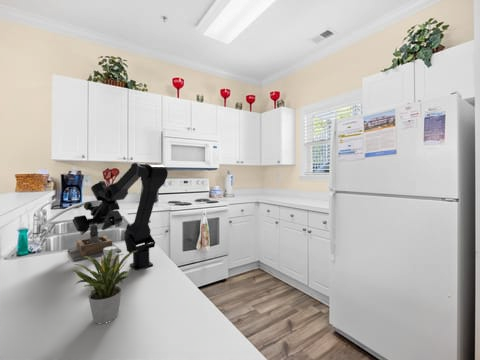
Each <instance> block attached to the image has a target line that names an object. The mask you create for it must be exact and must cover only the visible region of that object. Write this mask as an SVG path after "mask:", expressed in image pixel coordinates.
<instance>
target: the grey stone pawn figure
mask: <svg viewBox="0 0 480 360" xmlns="http://www.w3.org/2000/svg"><path fill="white" fill-rule="evenodd" d="M98 228H99V227H98V224H92V225H90V227H89V236H90V237H89V238H90V241H88V242H87V244H92V243H97V242H102V240H99V238H98V237H99V229H98Z"/></svg>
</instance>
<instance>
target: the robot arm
mask: <svg viewBox="0 0 480 360" xmlns="http://www.w3.org/2000/svg"><path fill="white" fill-rule="evenodd" d="M168 172H169V171H168V170H167V168H166V166H165V165H162V164H148V163H145V162H133V163H132V164H131V165H130V168H129V169H128V170H127V171H126V172H125V173H124V174H123V175H122V176H121V177H120V178H119V179H118V180H117V181H116V182H115V183H112V184H109V185H108V184H107V183H106V181H105V180H99V182H97V183H95V184H93V185H92V186H91V188H90V189H91V192H92V194H93V196H94V198H95V199H96V200H89V201H85V203H84V205H83V208H84V209H85V211H90V216H92V218H89V219H88V218H87V215H85V214H84V215H76V216H74V218H73V219H72V223H73V225H74V227H75V230H76V231H77V232H79V233H80V235H81V236H82V235H84V234H86V233H87V232H89V230H90V226H91V225H93V224H95V225H102V224H103V225H102V227H101V230H102V231H105V230H107V229H110V228H111V227H113V226H116V225H118V224H121V223H122V222H123V216H122V215H121V213H120V211H119V210H120V206H119V203H118V201H123V200H125V199H126V197H127V196H128V194H129V189H130V188H131V187H132V186H133V185H134V184H135V183H136V182H137V181H138V180H140V181H141V185H142V186H143V187H142V190H141V191H142V192H141V196H140V199H139V202H138V207H137V211H136V214H135V218H134V221H133V222H132V223H128V224H127V225H126V230H125V232H124V243H125V246H126V252H127V253H128V254H129V253H131V252H133V251H136V252H134V253H132V263H129V266H130V267H131V268H133V269H134V270H135V271H137V270H140V269H145V268H148V267H152V266H153V265H154V263H153V262H151V260H150V249H151V248H155V246H156V241H155V239H154V237H153V236H152V234H151V229H150V224H149V223H150V220H151V219H150V218H151V216H152V212H153V209H154V204H155V201H156V198H157V195H158V191H159V190H160V188H162V186H163V185H164V184H165V183H166V180H167V178H168V174H169V173H168ZM107 185H108V186H107ZM137 250H138V251H137Z"/></svg>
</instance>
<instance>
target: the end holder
mask: <svg viewBox="0 0 480 360" xmlns="http://www.w3.org/2000/svg"><path fill="white" fill-rule="evenodd" d="M98 238H99V240H102V242H97V243H92V244H87V242H88V241H90V237H89V238H83V239H82V238H81V239H77V240H76V247H70V248H68V250H67V251H68V252H69V254H70V256H71V258H72V259H73V261H74V262H75V263H76V262H81V261H85V260H90V259H89V258H87V257H84V256H88V255H89V256H88V257H91V258H94V259H96V258H98V257H102V255H103V254H104V253H103V249H104V248H106V247H111V246H115V247H117V253H118V254H119V253H121V252H122V249H120V248H119V247H118V246H117V245H116V244H114V243H113V240H112V239H111V238H109V237H108V236H107V235H101V236H98Z"/></svg>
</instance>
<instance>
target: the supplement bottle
mask: <svg viewBox="0 0 480 360" xmlns="http://www.w3.org/2000/svg"><path fill="white" fill-rule="evenodd" d="M115 246H116V245H115ZM115 246H111V247H106V248H104V249H103V253H104V255H105V256H106V259H107V256H108V253H109V251H110V250H111V249H113V250H112V257H111V261H110V266H111V265H113V262H114V259H115V257H116V255H118V254H119V253H117V247H118V246H117V247H115ZM119 255H120V254H119ZM119 255H118V256H119ZM100 257H101V258H100V260H101V261H100V263H101V264H100V265H101V267H102V269H103V271H104V272H105V268H104V256H103V255H102V256H100ZM119 263H120V256H119V257H118V259H117V261H116V265H115V269H114V273H115V271H116V269H117V267H118V265H119ZM119 274H120V271H119V272H118V274H117V275H116V277H117V276H118V275H119ZM116 277H115V278H116Z"/></svg>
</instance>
